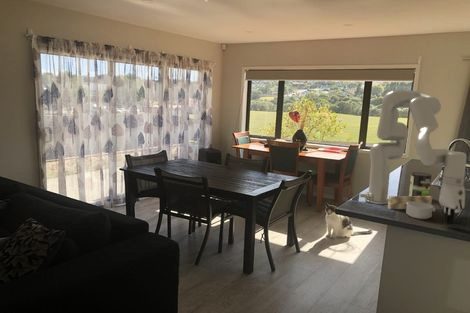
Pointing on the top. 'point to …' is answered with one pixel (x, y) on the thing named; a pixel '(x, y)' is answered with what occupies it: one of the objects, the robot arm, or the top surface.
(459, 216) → the top surface
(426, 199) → the stop board
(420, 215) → the saucepan
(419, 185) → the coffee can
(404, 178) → the top surface
